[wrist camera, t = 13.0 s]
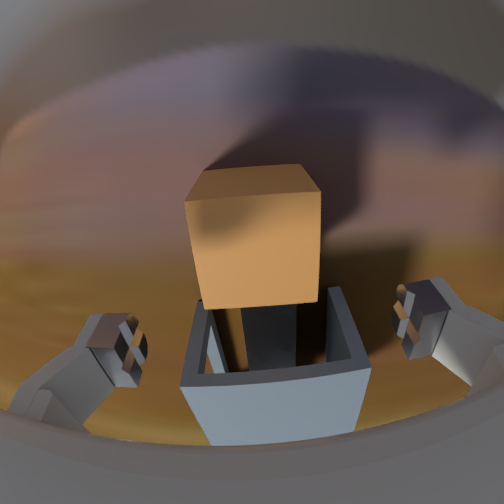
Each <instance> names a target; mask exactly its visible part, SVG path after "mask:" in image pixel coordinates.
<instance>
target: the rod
mask: <svg viewBox="0 0 504 504" xmlns="http://www.w3.org/2000/svg"><path fill="white" fill-rule="evenodd" d="M241 315H242V322H243V330H244V337H245V344H246V351H247V358H248V365H249V371H260V370H270V369H280V368H289V367H296V324H297V304H286V305H273V306H259V307H243V308H241Z"/></svg>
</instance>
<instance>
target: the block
mask: <svg viewBox="0 0 504 504" xmlns="http://www.w3.org/2000/svg"><path fill="white" fill-rule="evenodd" d="M184 205H185V211H186V217H187V223H188V228H189V234H190V240H191V245H192V250H193V256H194V261H195V266H196V271H197V276H198V281H199V286H200V291H201V296H202V301H203V305H204V309H225V308H243V307H259V306H273V305H286V304H298V303H310V302H317V301H318V284H319V262H320V231H321V191H320V189H319V188H318V187H317V185H316V184H315V183H314V181H313V180H312V179H311V177H310V176H309V175H308V173H307V172H306V171H305V169H304V168H303V167H302V166H301V164H281V165H264V166H250V167H237V168H226V169H216V170H206V171H203V172H202V173H201V175H200V176H199V178H198V180H197V181H196V183H195V184H194V186H193V188H192V189H191V191H190V193H189V194H188V196H187V197H186V199H185V201H184Z"/></svg>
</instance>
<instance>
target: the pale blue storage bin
mask: <svg viewBox="0 0 504 504" xmlns="http://www.w3.org/2000/svg"><path fill="white" fill-rule="evenodd" d="M207 353H208V356H209V359H210V362H211V365H212V368H213V371H214V374H204V370H205V363H206V356H207ZM371 368H372V367H371V365H370V362H369V359H368V356H367V354H366V351H365V348H364V346H363V343H362V340H361V338H360V335H359V333H358V330H357V327H356V325H355V322H354V320H353V317H352V315H351V312H350V310H349V307H348V305H347V302H346V300H345V298H344V295H343V293H342V290H341V288H340V286H337V287H329V288H328V292H327V324H326V345H325V362H324V363H320V364H313V365H305V366H298V367H289V368H280V369H270V370H260V371H247V372H233V373H229V370H228V366H227V363H226V359H225V356H224V352H223V349H222V345H221V341H220V338H219V334H218V330H217V327H216V323H215V319H214V315H213V312H212V309H204V305H203V301H199V302H197V306H196V311H195V315H194V320H193V324H192V329H191V334H190V338H189V343H188V348H187V353H186V358H185V363H184V368H183V373H182V378H181V383H180V388H181V390H182V392H183V394H184V396H185V398H186V400H187V402H188V404H189V406H190V408H191V410H192V411H193V413H194V415H195V417H196V419H197V421H198V422H199V424H200V426H201V428H202V429H203V431H204V433H205V435H206V436H207V438H208V440H209V442H210V443H211V445H212V446H232V445H255V444H269V443H281V442H290V441H299V440H307V439H314V438H320V437H327V436H333V435H338V434H343V433H349V432H353V431H354V428H355V425H356V422H357V419H358V415H359V412H360V409H361V405H362V402H363V398H364V395H365V391H366V387H367V384H368V380H369V376H370V372H371Z"/></svg>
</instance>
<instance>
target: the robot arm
mask: <svg viewBox="0 0 504 504" xmlns="http://www.w3.org/2000/svg"><path fill="white" fill-rule="evenodd" d="M396 297H397V299H398V301H397V303H396V304H395V305H394V306H393V311H392V323H393V327H394V330H395V332H396V334H397V335H398V336H400V337H401V338H403V342H402V346H403V348H404V350H405V353H406V355H407V357H408V359H409V360H412V359H416V358H421V357H425V356H429V355H432V356H433V357H434V358H435V359H437V360H438V361H439V362H441V363H442V364H443V365H444V366H446V367H447V368H448V369H450V370H451V371H452V372H453V373H455V374H456V375H457V376H459V377H460V378H461V379H462V380H464V381H465V382H466V383H468V384H469V385H470V386H471V387H470V389H469V390H468V392H467V394H466V395H465V397H464V398H463V399H461V400H458V401H456V402H453V403H450V404H448V405H445V406H442V407H439V408H437V409H434V410H431V411H428V412H425V413H422V414H419V415H416V416H412V417H409V418H406V419H402V420H399V421H395V422H391V423H388V424H384V425H380V426H376V427H372V428H367V429H363V430H358V431H354V432H349V433H343V434H338V435H333V436H327V437H320V438H314V439H307V440H299V441H290V442H281V443H269V444H255V445H232V446H196V445H173V444H159V443H148V442H139V441H131V440H123V439H116V438H110V437H104V436H98V435H93V434H91V433H90V432H89V431H88V430H87V429H86V428H85V427H84V426H83V425H82V424H83V423H84V422H85V420H86V419H87V418H88V417H89V416H90V415H91V414H92V413H93V412H94V410H95V409H96V408H97V407H98V406H99V405H100V404H101V403H102V402H103V401H104V399H105V398H106V397H107V396H108V395H109V394H110V393H111V392H112V391H113V390H114V388H115V387H138V384H139V381H140V377H141V374H142V370H141V368H140V365H141V364H142V363H143V362H145V361H146V357H147V347H148V345H147V341H146V337H145V335H144V333H143V332H142V331H140V330H139V329H138V328H137V326H138V323H139V322H138V320H137V318H136V316H135V314H133V313H105V314H104V313H98V314H92V315H90V316H89V318H88V320H87V321H86V323H85V325H84V327H83V329H82V330H81V332H80V334H79V336H78V338H77V339H76V341H75V343H74V345H73V347H68V348H67V349H66V350H64V351H63V352H62V353H60V354H59V355H58V356H56V357H55V358H54V359H52V360H51V361H50V362H48V363H47V364H46V365H44V366H43V367H42V368H40V369H39V370H38V371H36V372H35V373H34V374H32V375H31V376H30V377H29V378H27V379H26V380H25V381H23V382H22V383H21V384H20V386H19V388H18V390H17V392H16V394H15V396H14V398H13V400H12V402H11V404H10V406H9V408H8V410H7V411H5V410H2V409H0V504H504V322H502V321H500V320H498V319H496V318H494V317H492V316H490V315H488V314H486V313H484V312H481V311H479V310H477V309H475V308H473V307H471V306H465V305H464V304H463V303H462V301H461V300H460V299H459V297H458V296H457V295H456V294H455V292H454V291H453V290H452V289H451V288H450V286H449V285H448V284H447V283H446V281H445V280H444V279H443V278H442V277H439V276H438V277H434V278H429V279H426V280H421V281H415V282H410V283H404V284H399V285H398V287H397V290H396Z"/></svg>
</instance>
